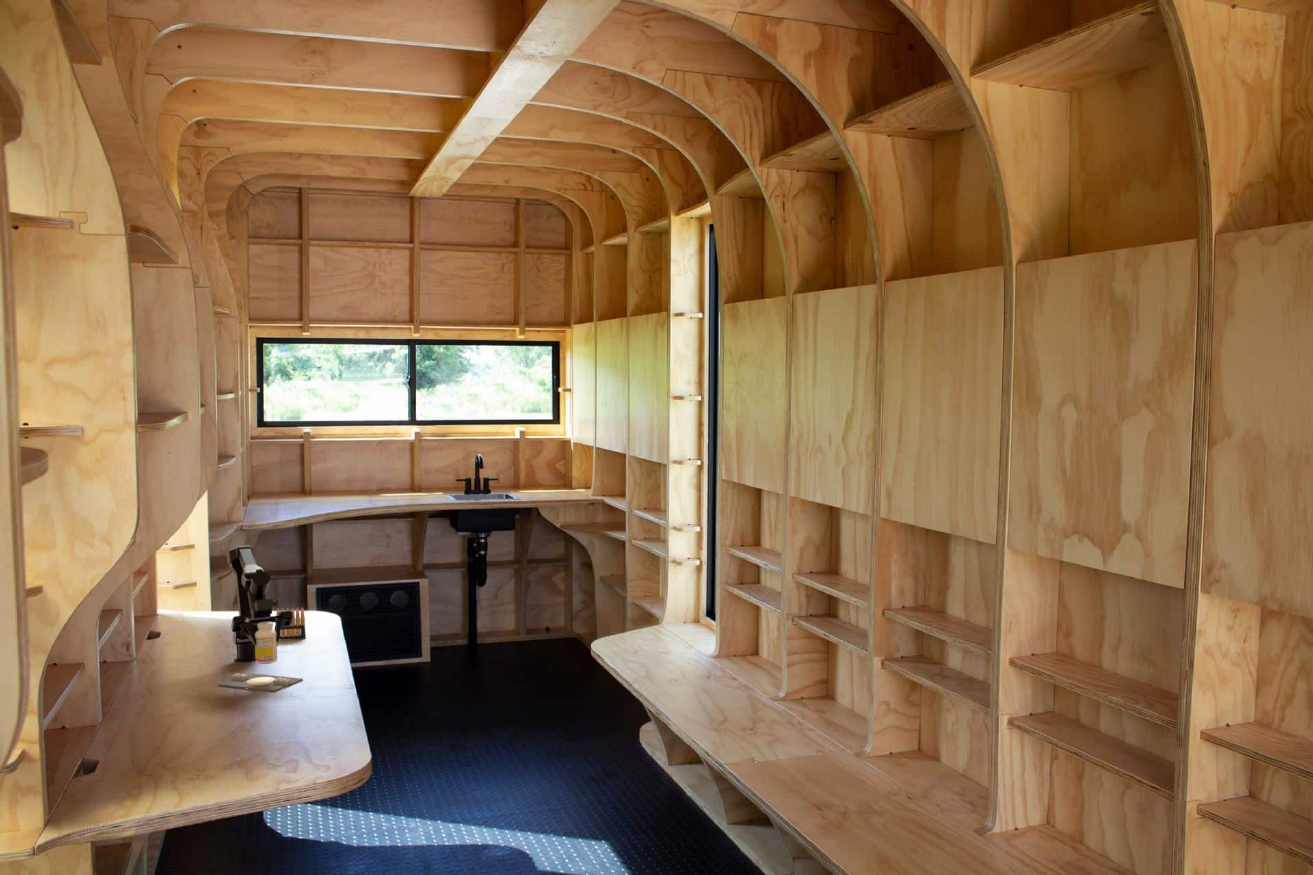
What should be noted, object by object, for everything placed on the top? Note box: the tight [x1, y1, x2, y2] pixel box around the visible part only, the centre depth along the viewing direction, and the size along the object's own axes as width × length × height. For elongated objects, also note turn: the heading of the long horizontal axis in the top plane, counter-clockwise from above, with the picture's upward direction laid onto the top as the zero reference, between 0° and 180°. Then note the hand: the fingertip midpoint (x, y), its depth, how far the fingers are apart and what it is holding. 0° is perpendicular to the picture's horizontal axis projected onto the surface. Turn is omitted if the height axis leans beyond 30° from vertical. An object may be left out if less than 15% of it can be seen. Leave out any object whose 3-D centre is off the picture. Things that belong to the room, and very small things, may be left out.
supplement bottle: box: [255, 622, 278, 665], centre depth 361 cm, size 7×7×13 cm
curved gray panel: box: [218, 672, 304, 693], centre depth 361 cm, size 22×14×2 cm, turn 70°
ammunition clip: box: [275, 606, 307, 640], centre depth 420 cm, size 11×2×12 cm, turn 105°
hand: (266, 642), depth 360 cm, fingers closed on supplement bottle, 7 cm apart
